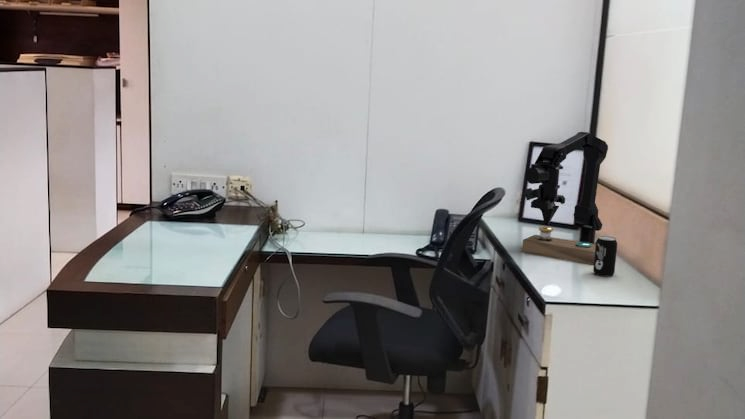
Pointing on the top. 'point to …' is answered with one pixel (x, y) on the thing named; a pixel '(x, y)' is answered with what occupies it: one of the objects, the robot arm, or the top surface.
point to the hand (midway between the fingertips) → (546, 225)
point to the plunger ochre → (545, 233)
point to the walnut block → (559, 249)
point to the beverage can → (605, 256)
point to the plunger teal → (583, 244)
